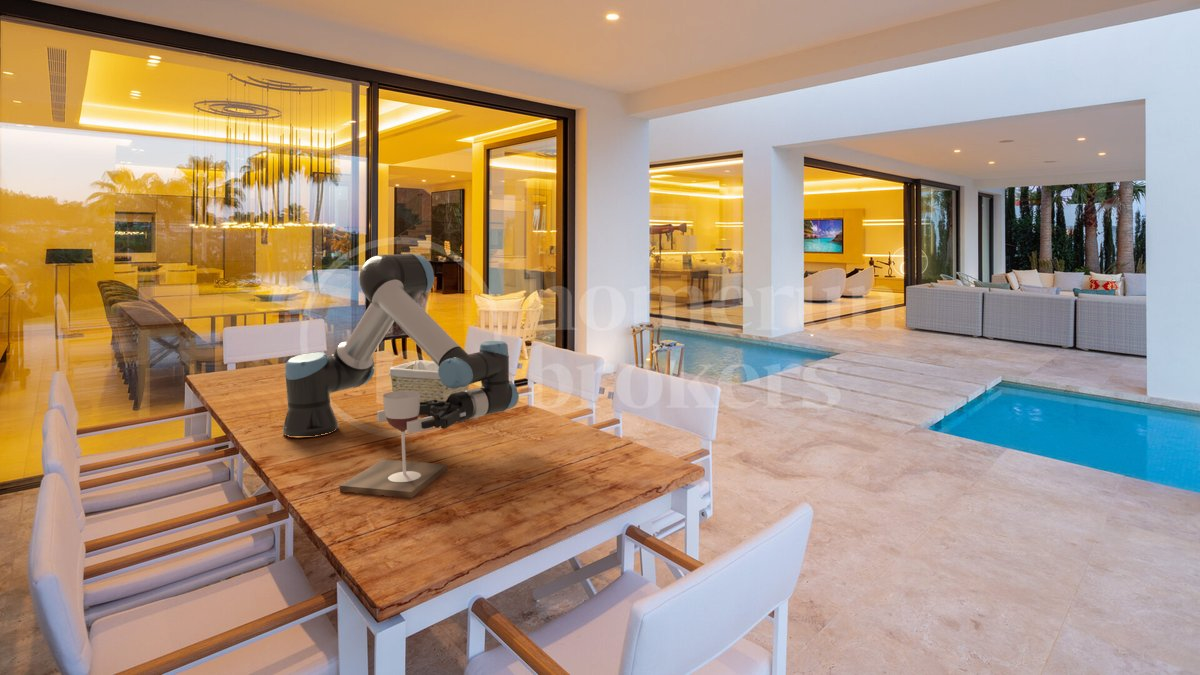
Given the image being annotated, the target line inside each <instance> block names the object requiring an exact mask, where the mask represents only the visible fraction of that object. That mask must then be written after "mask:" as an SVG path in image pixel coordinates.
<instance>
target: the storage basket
mask: <svg viewBox="0 0 1200 675" xmlns="http://www.w3.org/2000/svg"><path fill="white" fill-rule="evenodd" d="M438 369H439V367H438V366H437V365H436V363H435V362H434V361H433V360H421V359H418V360H413V361H409V362H406V363H402V364H398V365H394V366H391V367H389V373H388V374H389V376H390V379H391V380H390V381H391V392H394V391H414V392H418V393H420V402H424V401H432V400H437V402H439V401H445V402H446V401H447V399H448V397H449V395H451V394H453V393H457V392H462V391H463V392H464V391H466V390H470V389H469V386H470V384H469V385H467V386H465V387H459V388H448V387H446V386H445V385H443V384H442V382H441V379H440V377H439V375H438Z"/></svg>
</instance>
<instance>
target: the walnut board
mask: <svg viewBox="0 0 1200 675" xmlns="http://www.w3.org/2000/svg"><path fill="white" fill-rule="evenodd" d="M406 471H414V472H418V473H420V474H421V477H419V478H418V479H416V480H413V481H409V482H392V481H390V480H389V479H388V477H389V476H390V475H392V474H394V473H398V472H403V464H402V460H397V459H396V460H394V459H384V458H383V459H379V461H377V462H376V463H373V464H372V465H371V466H369V467H368V468H365V469H364V470H363V471H361V472H359V473H358V474H355V475H354V476H352V477H351V478H349V479H348V480H346V481H344V482H343V483H341V484H340V485H339V492H340V491H346V492H345V493H348V492H355V493H354V494H359V493H363V495H370V494H372V496H381V495H384V496H383V497H392V496H393V497H395V498H402V499H403V498H406V499H412V498H413V497H415V496H416V495H418V494H419V493H420V492H421V491H422V490H424V489H425V488H426V487H428V486H429V485H431V483H432V482H434V481H435V480H436V479H438V478H439V477H440V476H441V475H443V474H444V473H446V471H448V466H447V463H435V462H433V463H432V462H421V461H420V462H419V461H407V460H406Z"/></svg>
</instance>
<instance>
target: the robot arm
mask: <svg viewBox="0 0 1200 675" xmlns="http://www.w3.org/2000/svg"><path fill="white" fill-rule="evenodd" d="M358 276H359V285H360V288H361V290H362V294H364V297H365V298H366V299H367V300H368V301H369V302H370V304H369V305H368V307H367V309H366V310H365V311H364V313H363V315H362V317H361V319H360V320H359V321H358V323H357V325H356V326H355V328H354V330H353V331H352V332H351V334H350V336H349V338H348V339H347V340H346V341H342V342H340V343H339V345H338V346H337V347H336V349H335V350H334V352H333V353H332V354H326V352H320V351H317V352H313V351H312V352H309V353H302V354H299V355H295V356H293V357H290V358H289V359H288V360H286V363H285V366H284V367H285V370H284V371H285V372H284V377H285V384H286V386H285V387H286V397H287V398H286V399H287V412H286V416H285V419H284V423H283V427H282V429H283V430H282V431H283V432H282V433H283V435H284V434H286V435H289V436H315V435H321V434H325V433H329V432H332V431H334V430H335V429H337V428H338V429H339V422H338V419H337V418H336V415H335V412H334V410H333V407H332V406H331V394H332V393H335V392H339V391H345V390H349V389H352V388H353V389H355V388H358V387H361V386H363V385H365V384H367V383H369V382H370V381H371V379H372V378H373V375H374V374H375V368H374V367H375V362H374V356H373V355H374V353H375V352H376V350H377V349H378V347H379V345H380V344H381V342H382V341H383V339H384V338H385V336H386V335H387V333H388V332H389V330H390V329H391V327H392V326H393V324H394V323H395V324H396V325H398V326H399V328H401V330H402V331H404V333H405V334H407V336H408V337H409V338H410V339H411V340H412V341H413V342H414V343H415V344H416V345H417V346H418V348H420V349H421V351H423V353H425V354H426V356H428V357H429V358H430V359H431V361H433V362H435V363H436V365H437V366H438V367H439V369H438V375H439V377H440V379H441V382H442V384H443V385H445V386H446V387H448V388H459V387H465V386H467V385H469V386H470V385H472V384H475V383H478V382H479V383H480V384H481V387H477V388H471V389H469V390H466V391H464V392H463V391H462V392H457V393H453V394H451V395H449V397H448V399H447V401H446V402H445V401H439V402H437V400H432V401H424V402H420V409H419V415H418V416H426V417H421V418H418V419H416V420H412V421H408V422H407V430H406V433H407V434H408V435H409V434H413V433H417V432H421V431H425V430H429V429H434V428H436V429H438V428H441V429H444V430H445V429H447V428H449V427H451V426H453V425H454V424H456V423H460V422H464V421H467V420H470V419H474V420H478V418H479V417H483V416H486V415H492V414H496V413H501V412H506V411H508V410H511V409H513V408H514V407H516V405H517V404H518V402H519V399H520V398H519V397H520V395H519V392H518V388H517V386H516V385H515V384H514V383H513V382H511V381H510V371H509V370H510V366H509V365H510V362H509V361H510V360H509V359H510V355H509V346H508V344H507V343H506V341H502V340H488V341H486V340H485V341H483V342H481V343H480V346H479V352H473V353H470V354H469V353H467V352H466V350H465V349H463V348H462V347H461V345H459V344H458V343H457V342H456V340H454V339H453V338H452V337H451V336H450V335H449V334H448V333H447V332H446V331H445V329H444V328H442V327H441V326H440V324H439V323H437V322H436V320H434V319H433V318H432V316H431V315H429V313H427V312H426V310H424V309H423V308H422V306H420V304H419V303H418V302H417V301H416V298H417V297H418V295H420V294H422V295H423V294H426V293H428V292H429V291H430V290H432V288H433V286H434V283H435V275H434V269H433V266H432V264H431V262H430V261H429V260H428V258H426V257H425V256H424V255H420V254H418V253H416V254H414V253H405V254H403V253H402V254H401V253H400V254H378V255H374V256H372V257H370V258H369V259H367V260H366V261H365V263H364V264H363V265H362V267H361V269H360V271H359V275H358ZM431 411H432V412H431ZM376 415H377V416H376V417H377V418H376V420H377V423H382V422H383V423H384V422H388V421H387V419H386V415H385V410H384V409H381V410H376ZM338 429H337V430H338Z"/></svg>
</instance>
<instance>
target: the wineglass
mask: <svg viewBox="0 0 1200 675" xmlns="http://www.w3.org/2000/svg"><path fill="white" fill-rule="evenodd" d="M382 400H383V408H384V409H383V410H385V415H386V419H387V421H386V422H388V424H389V425H390V426H391V427H392V428H394V429H396V430H398V431H400V432H401V433H400V434H401V437H400V438H401V457H402V458H401V459H402V460H401V461H402V464H403V472H398V473H394V474H392V475H390V476H389V477H388V479H389V480H390V481H392V482H409V481H413V480H416V479H418V478H419V477H421V474H420V473H418V472H414V471H406V461H407V460H406V435H405V433H406V432H405V431H407V422H408V421H412V420H416V419H419V416H420V415H419V409H420V393H418V392H414V391H394V392H393V391H389V392H386V393H384V394H382Z"/></svg>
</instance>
